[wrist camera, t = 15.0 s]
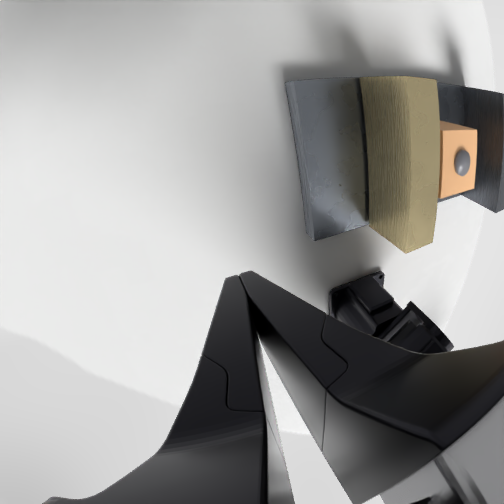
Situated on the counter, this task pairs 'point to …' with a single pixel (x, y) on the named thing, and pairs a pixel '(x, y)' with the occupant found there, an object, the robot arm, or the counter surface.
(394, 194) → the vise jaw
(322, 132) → the vise bed
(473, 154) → the block
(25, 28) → the counter surface
